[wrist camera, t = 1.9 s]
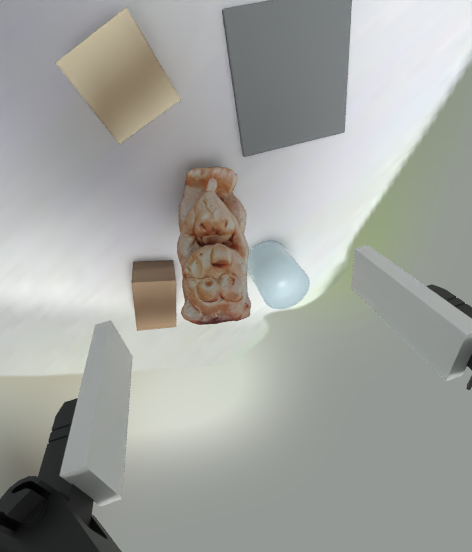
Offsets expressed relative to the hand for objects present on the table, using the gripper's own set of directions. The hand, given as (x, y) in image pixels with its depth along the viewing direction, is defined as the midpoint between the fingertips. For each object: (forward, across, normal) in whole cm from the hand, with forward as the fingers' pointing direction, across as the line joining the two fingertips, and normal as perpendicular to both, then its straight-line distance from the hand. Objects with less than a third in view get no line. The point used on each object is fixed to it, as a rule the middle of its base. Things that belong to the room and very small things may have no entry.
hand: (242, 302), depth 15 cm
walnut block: (+16, -7, -7) cm, 19 cm away
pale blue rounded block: (+16, +6, -8) cm, 19 cm away
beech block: (+16, -3, +11) cm, 19 cm away
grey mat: (+15, +10, +9) cm, 20 cm away
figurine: (+16, 0, +1) cm, 16 cm away
